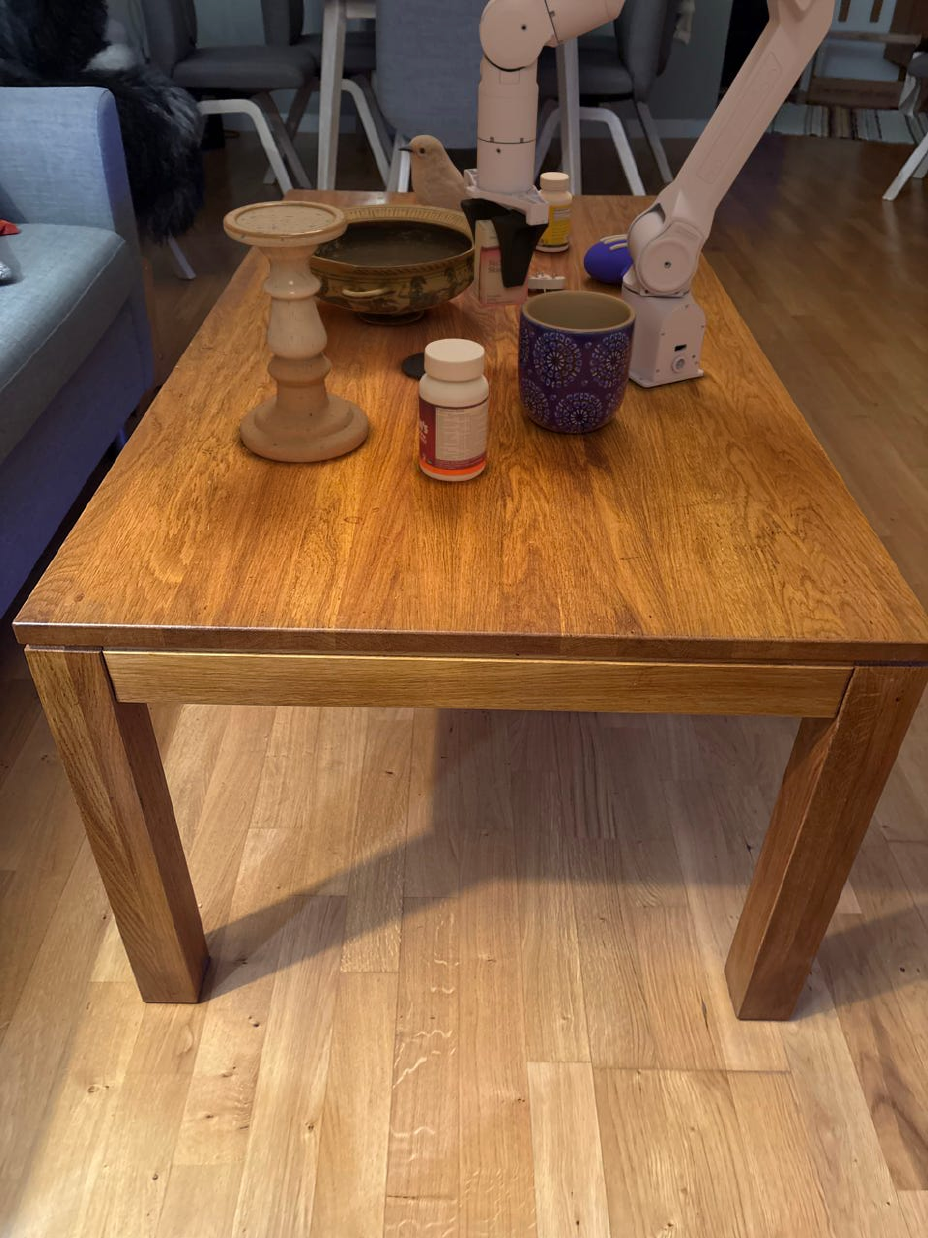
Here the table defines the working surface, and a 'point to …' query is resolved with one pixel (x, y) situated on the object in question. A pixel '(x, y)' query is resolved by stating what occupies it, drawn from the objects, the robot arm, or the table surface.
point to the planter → (574, 358)
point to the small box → (493, 271)
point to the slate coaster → (414, 365)
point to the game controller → (546, 282)
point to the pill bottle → (453, 410)
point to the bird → (434, 174)
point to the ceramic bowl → (395, 261)
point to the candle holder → (296, 337)
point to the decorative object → (608, 259)
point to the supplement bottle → (556, 212)
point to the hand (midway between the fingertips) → (500, 277)
